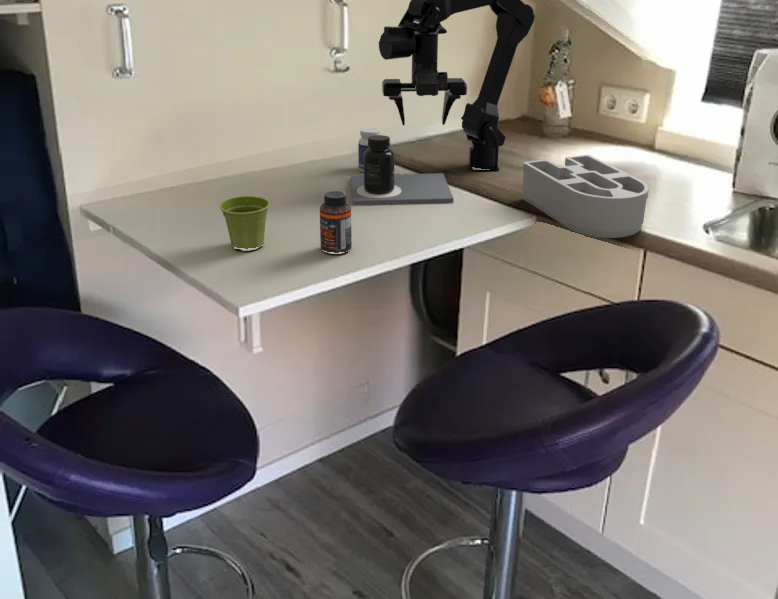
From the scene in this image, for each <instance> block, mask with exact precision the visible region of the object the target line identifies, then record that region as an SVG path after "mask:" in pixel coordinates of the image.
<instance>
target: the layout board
mask: <svg viewBox="0 0 778 599" xmlns="http://www.w3.org/2000/svg"><path fill="white" fill-rule="evenodd" d="M350 187H351V196H352V205H353V206H367V205H368V206H371V205H373V206H374V205H379V206H380V205H409V204H411V205H412V204H413V205H417V204H421V205H422V204H453V203H454V200H455V199H454V197H453V194H452V191H451V189H450V186H449V184H448V182H447V179H446V177H445V174H444V173H443V172H440V173H439V172H438V173H402V174H401V173H399V174H398V173H394V190H393V191H392V192H390V193H387V194H371V193H368V192H366V191H365V189H364V174H355V175H354V174H352V175H350Z"/></svg>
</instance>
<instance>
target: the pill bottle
mask: <svg viewBox="0 0 778 599" xmlns="http://www.w3.org/2000/svg"><path fill="white" fill-rule="evenodd" d="M359 132H360V133H359V135H360V136H361V137H360V138H359V139H358V145H357V146H358V148H357V149H358V152H357V153H358V170H359V171H360V172H362V173H364V152H365V150H367V149H368V148H369V147H368V137H370V136H374V135H381V134H380V133H381V131H380V129H379V128H377V127H363V128H361V129H360V131H359Z"/></svg>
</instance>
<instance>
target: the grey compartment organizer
mask: <svg viewBox="0 0 778 599" xmlns="http://www.w3.org/2000/svg"><path fill="white" fill-rule="evenodd" d="M564 159H565V160H564V166H560V164H559V165H558V164H556V163H555V162H553V161H551V160H549V159H539V160H538V159H537V160H531V161H524V162H523V164H522V171H523V177H522V193H521V195H522V200H524V201H526V202H527V203H528V204H530V205H532V206H533V207H535V208H536V209H538V210H539V211H541V212H543V213H544V214H546V215H547V216H548V217H550V218H552V219H553V220H554V221H557V222H558V223H559V224H561V225H562V226H564V227H565V228H567V229H568V230H571V232H574V233H578V234H580V235H584V236H588V237H595V238H603V239H612V238H613V239H619V238H625V237H630V236H633V235H636V234H637V233H639V231H640V230H641V229H642V226H643V224H644V219H645V213H646V205H647V199H648V198H649V192H650V186H649V185H648V184H647V182H645V181H643V180H642V179H639V178H637V177H636V176H634V175H631V174H629V173H628V172H625V171H623V170H621V169H620V168H617V167H615V166H613V165H611V164H610V163H607V162H605V161H602V160H600V159H599V158H597V157H595V156H593V155H591V154H581V155H572V156H566V157H565V158H564Z"/></svg>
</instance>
